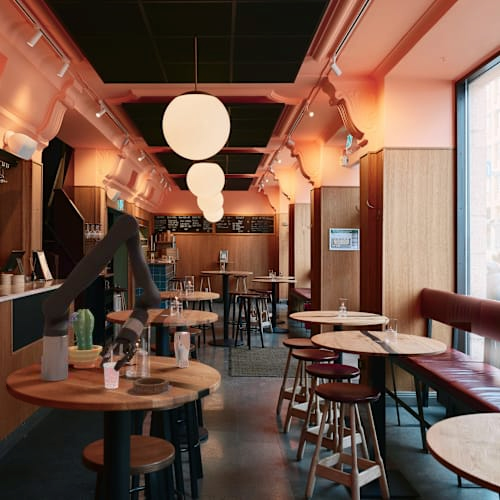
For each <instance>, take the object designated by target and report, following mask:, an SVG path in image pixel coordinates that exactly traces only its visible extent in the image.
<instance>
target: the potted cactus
mask: <svg viewBox="0 0 500 500" xmlns="http://www.w3.org/2000/svg"><path fill="white" fill-rule="evenodd" d="M94 324H95V317H94V315H93V314H92V312H91V311H90V310H89V308H87V309H85V308H83V309H78V310H77V312H76V311H75V312H73V313H72V314H71V313H70V319H69V327H70V326H71V327H72V330H73V332H74V334H75V339H76V344H77V345H74V346H68V357H69V359H70V361H71V362H72V364H73V368H74V369H89V368H93V367H95V366H96V365H95V364H96V362H97V360H98V359H99V357H100V355H101V354H100V353H102V351H103V346H101V345H94V344H93V332H94V331H93V330H94V327H95V325H94Z"/></svg>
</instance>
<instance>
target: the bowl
mask: <svg viewBox="0 0 500 500" xmlns="http://www.w3.org/2000/svg"><path fill="white" fill-rule="evenodd" d="M169 381H170V380H169V379H168V378H165V377H157V376H156V377H154V376H153V377H141V378H138V379H134V380H133V382H132V388H133V389H134V392H136V393H140V394H139V395H158V394H157V393H162V392H165V391H167V390H168V387H169V385H170V383H169Z"/></svg>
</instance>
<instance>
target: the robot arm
mask: <svg viewBox="0 0 500 500" xmlns="http://www.w3.org/2000/svg"><path fill="white" fill-rule="evenodd" d="M123 244H124V245H125V249H126V251H127V255H128V261H129V266H130V270H131V274H132V277H133V281H134V284H135V286H136V287H137V288H139V289H142V290H143V293H140V294H139V295H138V296H137V297H136V299H135V301H134V305H133V308H132V312H131V313H130V314H129V316H128V318H127V319H126V321H125V322H124V324H123V325H122V327H121V328H120V330H119V331H118V333H117V335H116V336H115V341H114V342H113V343H109V342H106V343H105V345H104V348H102V351H101V352H100V353H101V354H100V356H101V357H102V360H101V362H100V363H99V368H100V369H101V370H104V367H103V364H104V363H108V362H109V361H111V350H113V355H112V359H115V357H116V356H119V358H118V359H117V361H116V362H117V363H116V365H115V366H114V370H115V371H119V372H120V369H122V366H123V364H126V363H125V362H130V360H131V359H132V358H133V356H134V355H135V353H136V352H137V349H136V348H135V346H134V345H135V343H136V341H137V339H138V338H139V339H140V336H141V335H142V332H143V330H144V328H145V326H146V324H147V322H148V321H149V318H150V315H149V312H148V311H149V310H152V309H156V308H159V307H160V306H161V304H162V293H161V292H160V290H159V289H158V286H157V285H156V283H155V281H154V279H153V277H152V274H151V273H152V272H151V270H150V267H149V265H148V261H147V258H146V255H145V251H144V249H143V244H142V242H141V233H140V223H139V220H138V219H137V218H136V216H135V215H133V214H130V213H124V214H122V215H120V216H118V217H117V219H116V220H115V222H114V223H113V224H112V225H111V227H110V228H109V230H108V231H107V232H106V233H105V235H104V236H103V237H102V238H101V239H100V240H99V241H98V242H97V243H96V244H95V245H94V246H93V247H91V249H90V250H89V251H88V252H87V253H86V254H85V255H84V256H83V257H82V259H81V260H80V261H79V262H78V263H77V264H76V266H75V267H74V268H73V269H72V271H71V272H70V274H68V276H67V277H66V279H65V280H64V282H63V283H62V284H60V286H59V287H58V288H57V289H55V290H54V291H53V293H51V294H50V295H49V296H48V297H47V298H45V299H44V300H43V302H42V313H43V314H44V316H45V323H44V328H43V338H42V339H43V343H42V344H43V346H42V347H43V348H42V349H43V354H42V355H41V359H40V361H41V365H40V367H41V369H40V379H41V380H40V381H47V382H57V381H64V380H67V379H69V377H68V376H69V353H68V348H69V330H70V326H69V319H70V316H71V312H70V311H71V309H70V308H71V304H72V303H73V302H74V300H75V299H77V297H78V296H79V294H81V292H83V291H84V290H85V289H86V288H88V286H91V284H92V283H93V282H94V281H95V280H96V279H97V278H98V277H99V276H100V275H101V274H102V272H103V271H104V270H105V269H106V268H107V266H108V265H109V264H110V262H111V261H112V259H113V257H114V256H115V255H116V253H117V251H118V250H119V249H120V248H121V247H122V246H123ZM127 352H128V353H127ZM128 357H129V358H128Z"/></svg>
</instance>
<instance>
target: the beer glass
mask: <svg viewBox="0 0 500 500" xmlns="http://www.w3.org/2000/svg"><path fill="white" fill-rule="evenodd" d="M190 333H191V332H189V331H176V332H174V338H173V339H174V342H173V344H174V345H173V346H174V352H175V364H174V367H175V368H176V367H179V368H178V369H184V368H183V367H187V368H189V367H190V366H189V365H190V364H189V354H190V347H191V334H190Z"/></svg>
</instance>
